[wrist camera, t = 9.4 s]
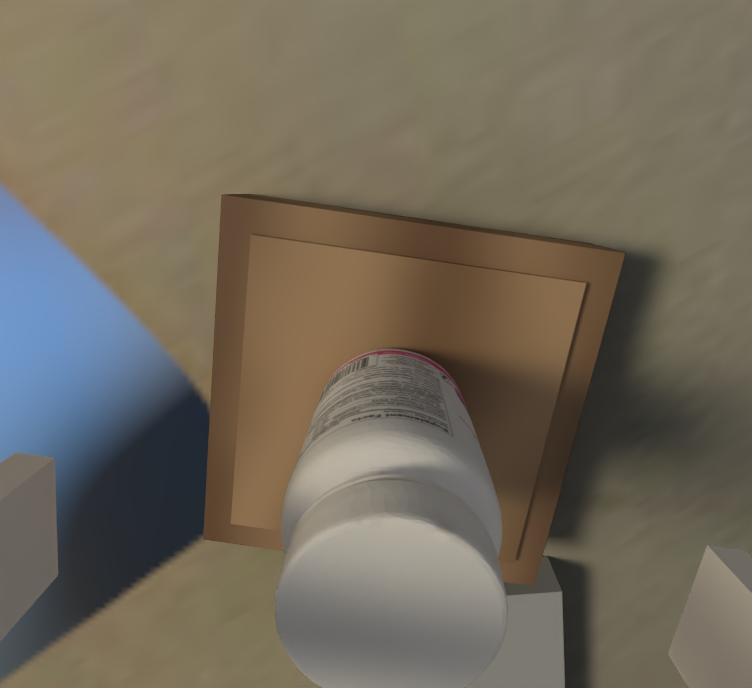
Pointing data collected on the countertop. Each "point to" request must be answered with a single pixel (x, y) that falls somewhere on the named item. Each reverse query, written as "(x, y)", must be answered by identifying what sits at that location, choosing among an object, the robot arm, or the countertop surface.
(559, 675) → the slate tile
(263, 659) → the countertop surface
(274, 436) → the walnut stand
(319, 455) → the pill bottle
